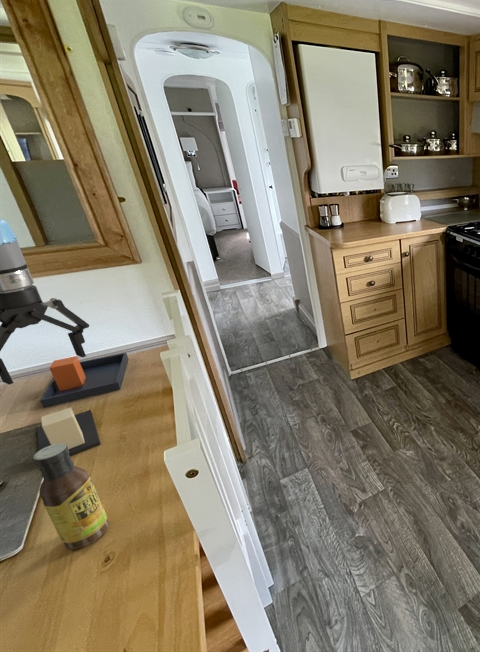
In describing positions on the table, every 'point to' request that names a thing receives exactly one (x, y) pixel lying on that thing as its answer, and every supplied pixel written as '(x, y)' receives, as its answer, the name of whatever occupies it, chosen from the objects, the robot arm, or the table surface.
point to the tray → (90, 380)
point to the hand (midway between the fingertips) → (47, 368)
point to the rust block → (68, 373)
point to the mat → (87, 429)
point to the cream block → (62, 428)
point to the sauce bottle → (70, 498)
